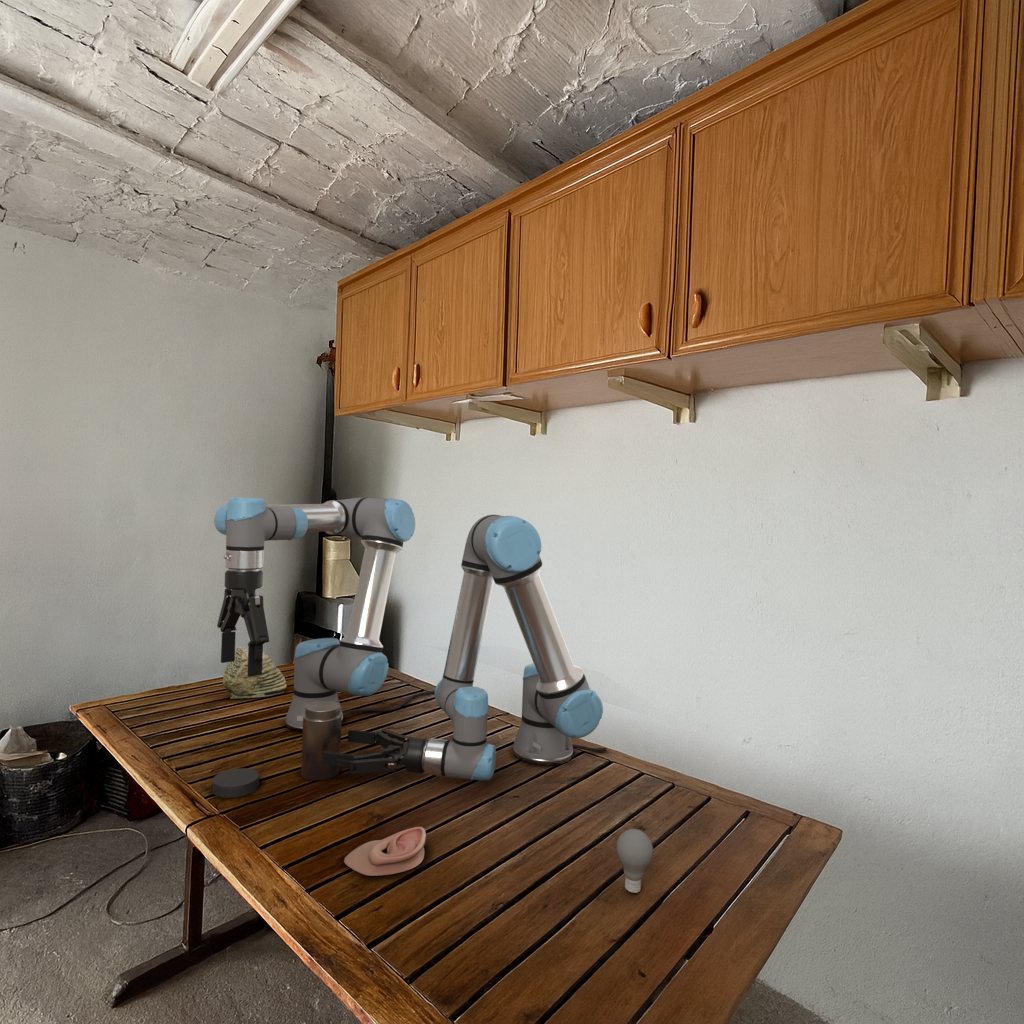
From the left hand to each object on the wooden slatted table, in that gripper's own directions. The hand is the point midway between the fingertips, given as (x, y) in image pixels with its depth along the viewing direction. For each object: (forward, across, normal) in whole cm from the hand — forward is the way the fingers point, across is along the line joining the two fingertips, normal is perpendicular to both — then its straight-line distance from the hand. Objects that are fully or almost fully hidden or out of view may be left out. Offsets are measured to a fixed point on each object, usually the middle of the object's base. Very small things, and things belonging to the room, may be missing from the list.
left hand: (240, 668), depth 136 cm
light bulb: (+26, +79, +33) cm, 89 cm away
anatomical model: (+26, +44, +8) cm, 51 cm away
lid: (+24, 0, 0) cm, 24 cm away
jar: (+26, +5, +17) cm, 31 cm away
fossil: (+26, -58, +30) cm, 70 cm away
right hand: (+19, +8, +19) cm, 28 cm away
